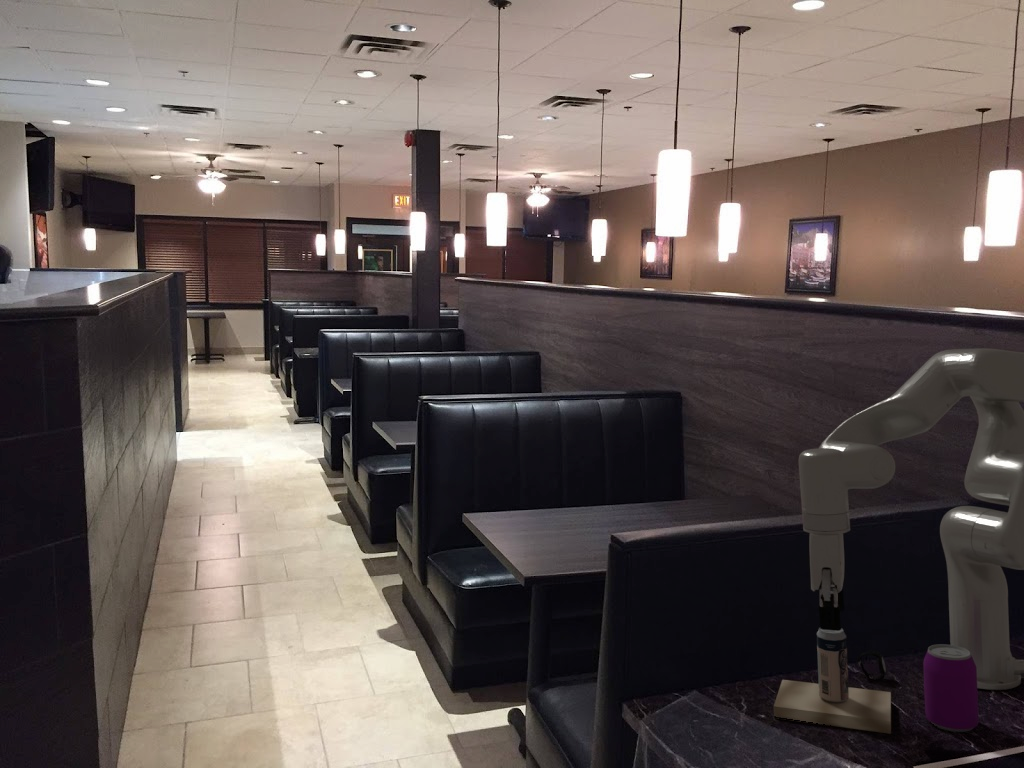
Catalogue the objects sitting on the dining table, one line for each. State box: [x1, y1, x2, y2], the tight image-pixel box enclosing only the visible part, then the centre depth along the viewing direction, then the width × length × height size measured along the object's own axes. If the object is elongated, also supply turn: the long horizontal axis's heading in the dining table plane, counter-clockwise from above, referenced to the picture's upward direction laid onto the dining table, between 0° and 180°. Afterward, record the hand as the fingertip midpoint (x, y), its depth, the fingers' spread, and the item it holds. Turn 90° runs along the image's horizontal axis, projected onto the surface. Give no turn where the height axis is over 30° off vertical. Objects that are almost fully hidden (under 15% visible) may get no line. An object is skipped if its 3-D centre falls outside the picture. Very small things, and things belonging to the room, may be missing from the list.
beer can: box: [816, 627, 849, 703], centre depth 138 cm, size 5×5×12 cm
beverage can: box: [922, 643, 979, 733], centre depth 131 cm, size 8×8×12 cm
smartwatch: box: [856, 650, 888, 680], centre depth 151 cm, size 4×5×5 cm
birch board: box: [773, 679, 892, 735], centre depth 138 cm, size 18×12×2 cm, turn 65°
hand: (832, 619), depth 138 cm, fingers open, 9 cm apart
